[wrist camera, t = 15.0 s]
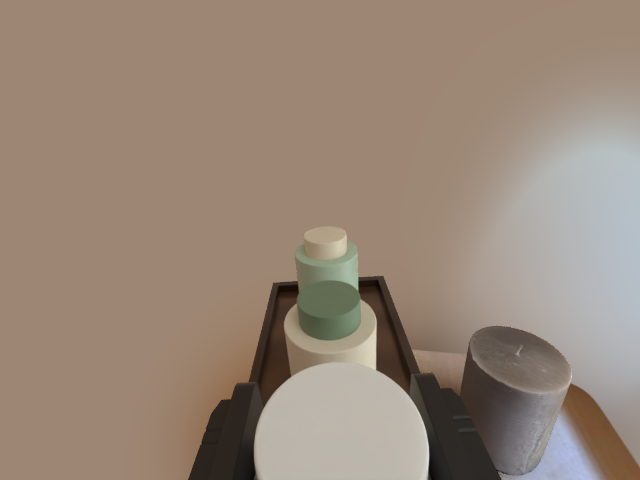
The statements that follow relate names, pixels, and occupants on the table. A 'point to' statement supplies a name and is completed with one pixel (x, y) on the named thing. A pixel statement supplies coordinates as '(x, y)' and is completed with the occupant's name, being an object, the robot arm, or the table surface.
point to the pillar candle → (514, 394)
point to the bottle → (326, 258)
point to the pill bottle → (340, 428)
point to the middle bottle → (330, 327)
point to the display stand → (390, 337)
